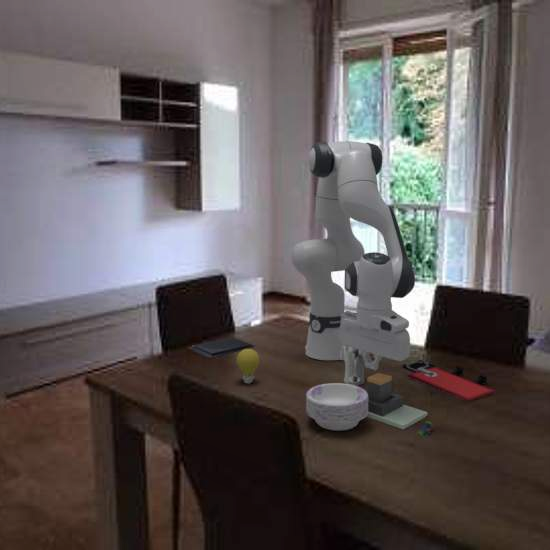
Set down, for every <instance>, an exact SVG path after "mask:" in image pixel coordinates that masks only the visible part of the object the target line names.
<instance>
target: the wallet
mask: <svg viewBox="0 0 550 550" xmlns="http://www.w3.org/2000/svg"><path fill="white" fill-rule="evenodd" d="M253 347H255V348H256V346H255V345H253V344H252V343H249V342H247V341H243V340H241V339H238V338H236V337H233V336H230V337H227V338H220V339H217V340H212V341H209V342H204V343H203V342H202V343H199V344H195V345H192V346H189V347H188V346H187V347H186V349H187V350H189V351H191V352H193V353H195V354H196V355H197V354H198V355H199V356H201V357H204V358H206V359H215V358H219V357H223V356H226V354H227V355H231V354H234V352H235V353H239V352H241V350H244V349H249V348H252V349H254V348H253ZM238 351H239V352H238ZM230 353H231V354H230Z"/></svg>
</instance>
